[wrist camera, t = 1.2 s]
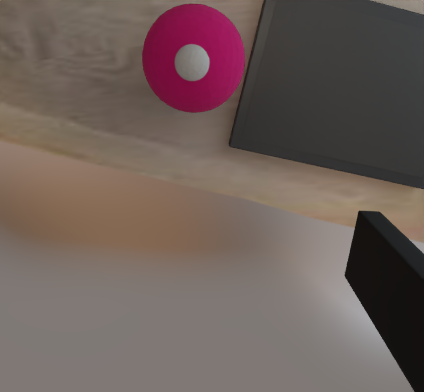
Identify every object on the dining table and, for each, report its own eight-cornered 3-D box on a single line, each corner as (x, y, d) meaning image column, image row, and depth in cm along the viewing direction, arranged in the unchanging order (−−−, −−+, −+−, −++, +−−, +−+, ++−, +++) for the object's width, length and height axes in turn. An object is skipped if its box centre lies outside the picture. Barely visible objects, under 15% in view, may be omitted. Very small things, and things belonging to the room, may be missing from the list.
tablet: (228, 144, 40) (229, 147, 39) (269, -24, 35) (272, -26, 33) (419, 185, 42) (425, 189, 41) (487, 34, 37) (497, 34, 36)
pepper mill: (158, 15, 36) (107, -19, 17) (235, 12, 36) (267, -24, 17) (164, 94, 38) (125, 139, 20) (235, 91, 38) (264, 134, 20)
